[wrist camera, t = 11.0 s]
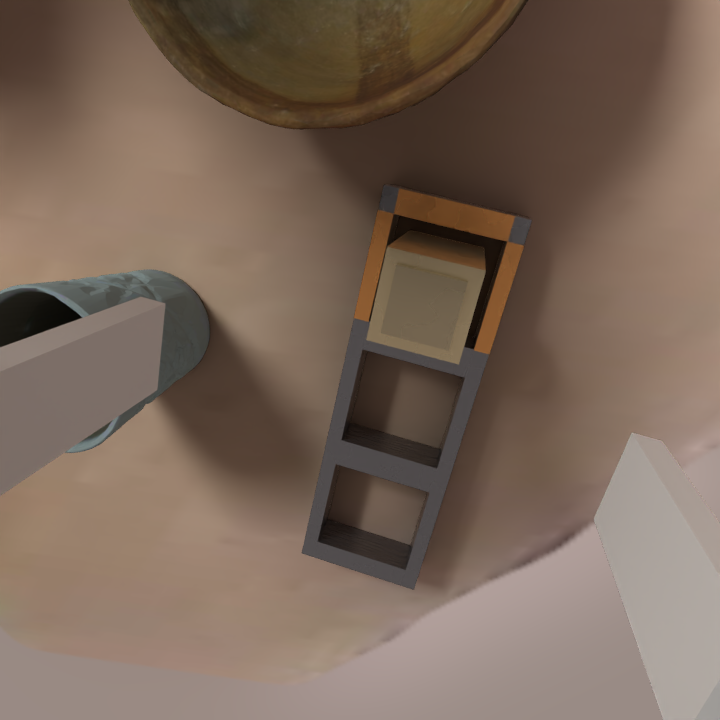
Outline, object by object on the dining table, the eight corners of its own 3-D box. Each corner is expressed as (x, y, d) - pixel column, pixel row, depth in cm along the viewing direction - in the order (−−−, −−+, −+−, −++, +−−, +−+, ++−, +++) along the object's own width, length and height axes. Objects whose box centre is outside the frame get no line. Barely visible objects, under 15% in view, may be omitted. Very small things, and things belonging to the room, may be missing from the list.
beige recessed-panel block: (409, 229, 37) (385, 247, 27) (483, 247, 36) (486, 271, 27) (393, 301, 39) (364, 341, 29) (463, 319, 38) (458, 366, 28)
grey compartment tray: (391, 184, 36) (383, 184, 33) (527, 217, 35) (532, 220, 32) (312, 530, 46) (300, 554, 43) (417, 564, 45) (413, 591, 42)
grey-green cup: (219, 391, 44) (130, 464, 32) (104, 377, 45) (-18, 442, 34) (214, 262, 40) (113, 294, 29) (91, 252, 42) (-50, 278, 31)
